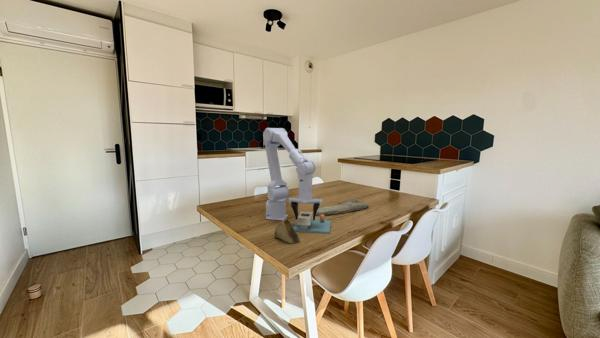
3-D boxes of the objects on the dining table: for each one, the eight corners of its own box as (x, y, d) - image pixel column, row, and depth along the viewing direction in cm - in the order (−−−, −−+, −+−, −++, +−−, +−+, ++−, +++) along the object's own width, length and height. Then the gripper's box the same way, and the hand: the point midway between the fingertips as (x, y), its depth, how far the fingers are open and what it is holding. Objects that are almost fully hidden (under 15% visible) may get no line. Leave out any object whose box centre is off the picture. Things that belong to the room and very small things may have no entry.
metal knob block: (300, 231, 109) (300, 219, 108) (302, 224, 117) (303, 214, 116) (307, 231, 108) (307, 220, 108) (309, 224, 116) (310, 214, 115)
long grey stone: (310, 215, 134) (320, 222, 126) (309, 206, 133) (320, 212, 125) (360, 203, 151) (372, 208, 142) (360, 195, 150) (372, 200, 141)
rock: (266, 231, 103) (273, 237, 93) (278, 213, 104) (285, 217, 95) (287, 243, 106) (295, 251, 97) (298, 226, 108) (307, 231, 98)
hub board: (292, 231, 109) (292, 229, 109) (297, 219, 122) (297, 218, 122) (329, 233, 106) (329, 231, 106) (330, 222, 120) (331, 220, 120)
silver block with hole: (297, 224, 108) (297, 217, 108) (300, 217, 117) (300, 211, 116) (310, 225, 107) (310, 218, 107) (312, 218, 116) (312, 212, 115)
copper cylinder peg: (319, 222, 117) (319, 215, 117) (320, 220, 119) (320, 213, 119) (324, 222, 117) (324, 215, 116) (324, 221, 119) (324, 214, 118)
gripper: (287, 190, 107) (287, 221, 109) (321, 192, 105) (321, 223, 107) (290, 187, 114) (290, 216, 116) (322, 188, 112) (322, 218, 114)
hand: (305, 219), depth 112 cm, fingers open, 7 cm apart
